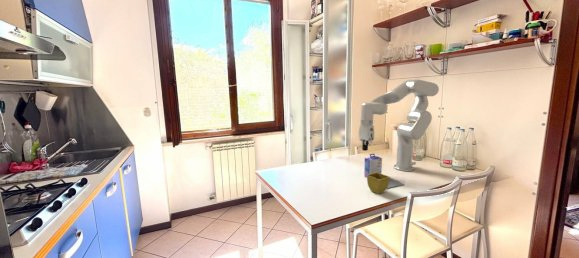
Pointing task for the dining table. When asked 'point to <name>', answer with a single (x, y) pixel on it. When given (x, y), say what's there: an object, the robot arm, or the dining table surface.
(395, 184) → the mat
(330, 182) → the dining table surface
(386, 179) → the flower pot
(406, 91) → the robot arm
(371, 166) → the ink cartridge box
